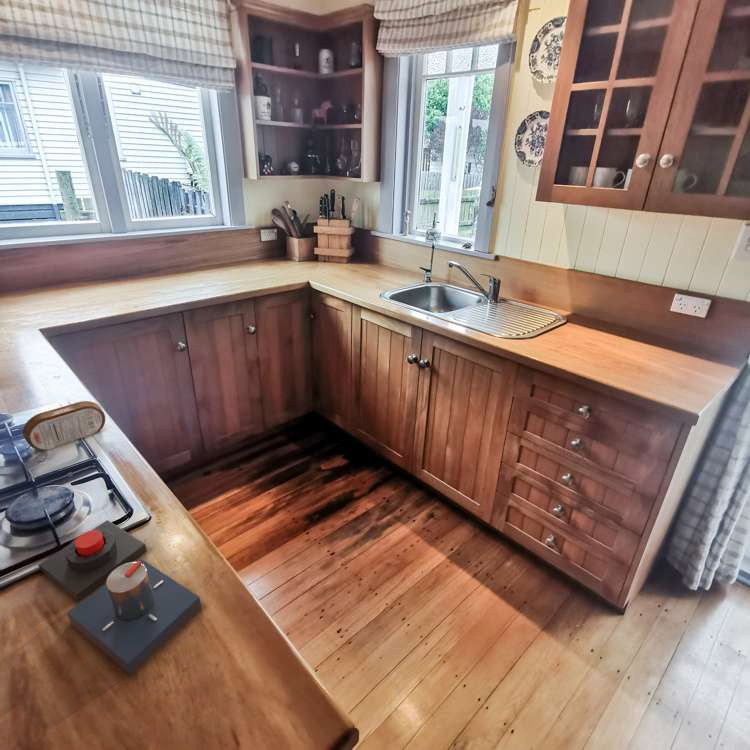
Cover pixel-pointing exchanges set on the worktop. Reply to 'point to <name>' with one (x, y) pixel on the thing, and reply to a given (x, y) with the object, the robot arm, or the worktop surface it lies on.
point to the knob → (130, 590)
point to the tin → (63, 425)
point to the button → (89, 543)
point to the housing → (92, 561)
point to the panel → (136, 620)
